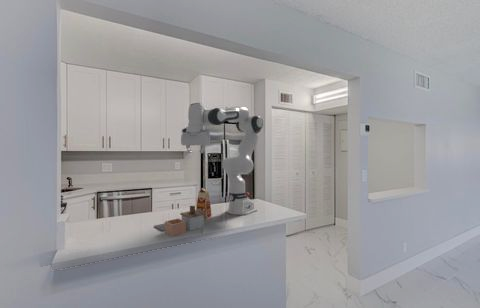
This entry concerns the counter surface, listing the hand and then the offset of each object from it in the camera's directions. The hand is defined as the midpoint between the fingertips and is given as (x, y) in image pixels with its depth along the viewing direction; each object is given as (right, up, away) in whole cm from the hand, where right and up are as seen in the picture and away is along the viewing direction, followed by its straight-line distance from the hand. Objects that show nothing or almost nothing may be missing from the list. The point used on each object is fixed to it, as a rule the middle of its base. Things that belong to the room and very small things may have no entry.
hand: (195, 153), depth 142 cm
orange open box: (-8, -43, -15) cm, 46 cm away
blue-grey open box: (-1, -43, -5) cm, 43 cm away
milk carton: (+3, -43, +13) cm, 45 cm away
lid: (-1, -36, -5) cm, 36 cm away
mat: (-15, -43, -6) cm, 46 cm away
